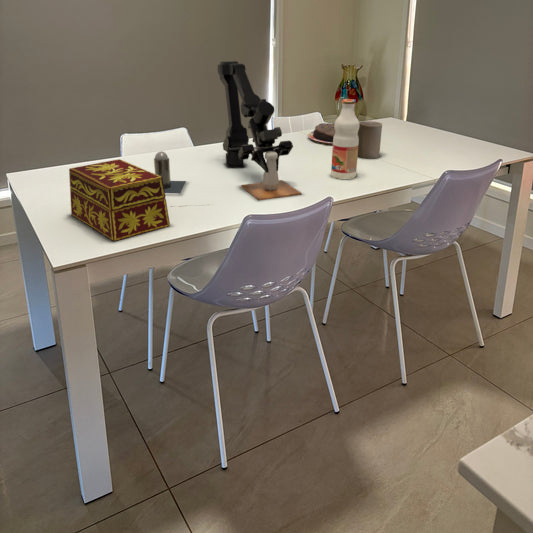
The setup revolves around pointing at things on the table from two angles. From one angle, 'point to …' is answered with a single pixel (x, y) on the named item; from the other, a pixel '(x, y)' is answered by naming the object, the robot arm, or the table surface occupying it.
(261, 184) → the oak board
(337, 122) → the fruit juice
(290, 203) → the table surface
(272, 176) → the salt shaker
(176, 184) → the slate mat
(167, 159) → the pepper shaker
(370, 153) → the pillar candle
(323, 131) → the chocolate cake
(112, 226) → the decorative box
